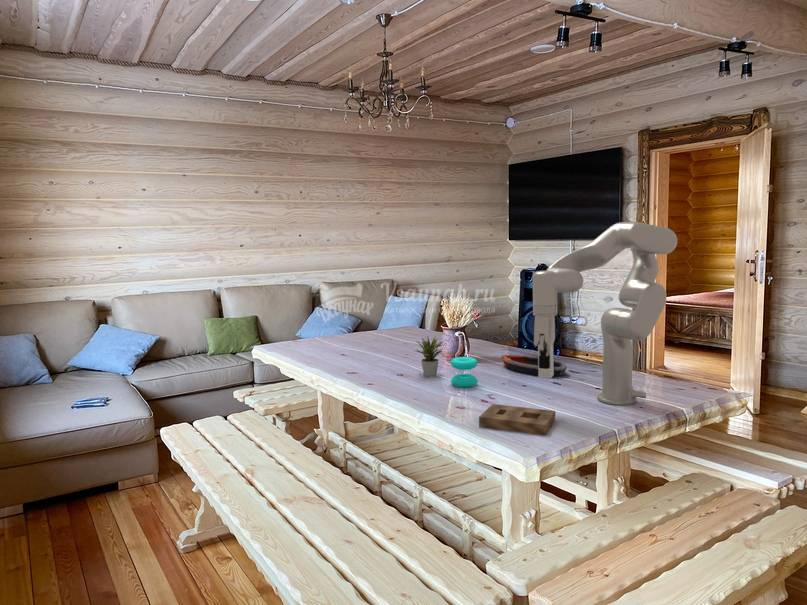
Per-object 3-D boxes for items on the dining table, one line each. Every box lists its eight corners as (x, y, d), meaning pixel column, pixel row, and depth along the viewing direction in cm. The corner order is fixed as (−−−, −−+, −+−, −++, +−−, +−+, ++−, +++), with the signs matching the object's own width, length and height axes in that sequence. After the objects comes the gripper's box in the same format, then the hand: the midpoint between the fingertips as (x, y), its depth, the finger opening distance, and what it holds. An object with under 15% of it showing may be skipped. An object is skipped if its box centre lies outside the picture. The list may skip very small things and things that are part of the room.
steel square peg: (553, 374, 193) (553, 341, 192) (551, 378, 190) (550, 344, 188) (541, 374, 195) (540, 340, 194) (538, 377, 192) (537, 343, 190)
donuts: (481, 360, 223) (455, 362, 221) (481, 387, 225) (456, 389, 222) (471, 355, 233) (447, 357, 231) (472, 380, 234) (447, 382, 232)
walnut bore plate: (555, 420, 185) (555, 410, 185) (545, 435, 173) (545, 425, 172) (492, 412, 194) (492, 403, 194) (479, 426, 181) (478, 416, 181)
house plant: (445, 380, 235) (445, 339, 232) (411, 379, 237) (410, 339, 235) (450, 371, 248) (449, 333, 246) (417, 370, 251) (416, 332, 249)
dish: (552, 381, 232) (552, 368, 231) (492, 367, 255) (492, 356, 254) (575, 374, 241) (576, 362, 241) (515, 361, 265) (515, 350, 264)
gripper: (539, 305, 199) (540, 359, 201) (526, 314, 184) (527, 372, 186) (562, 306, 195) (562, 361, 198) (551, 314, 180) (552, 374, 183)
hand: (545, 366), depth 192 cm, fingers closed on steel square peg, 4 cm apart
